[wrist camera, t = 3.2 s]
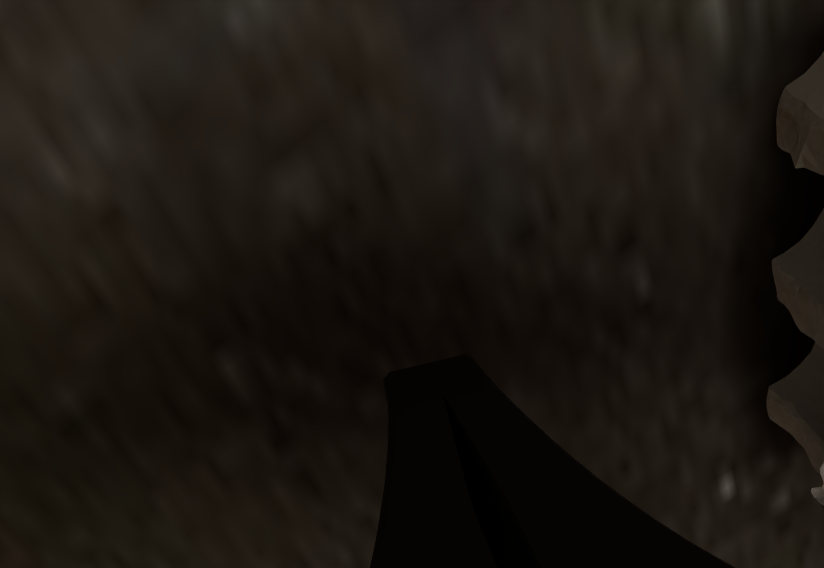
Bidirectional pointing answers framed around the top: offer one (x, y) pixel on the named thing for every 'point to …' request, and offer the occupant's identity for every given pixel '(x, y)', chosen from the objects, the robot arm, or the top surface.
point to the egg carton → (803, 274)
